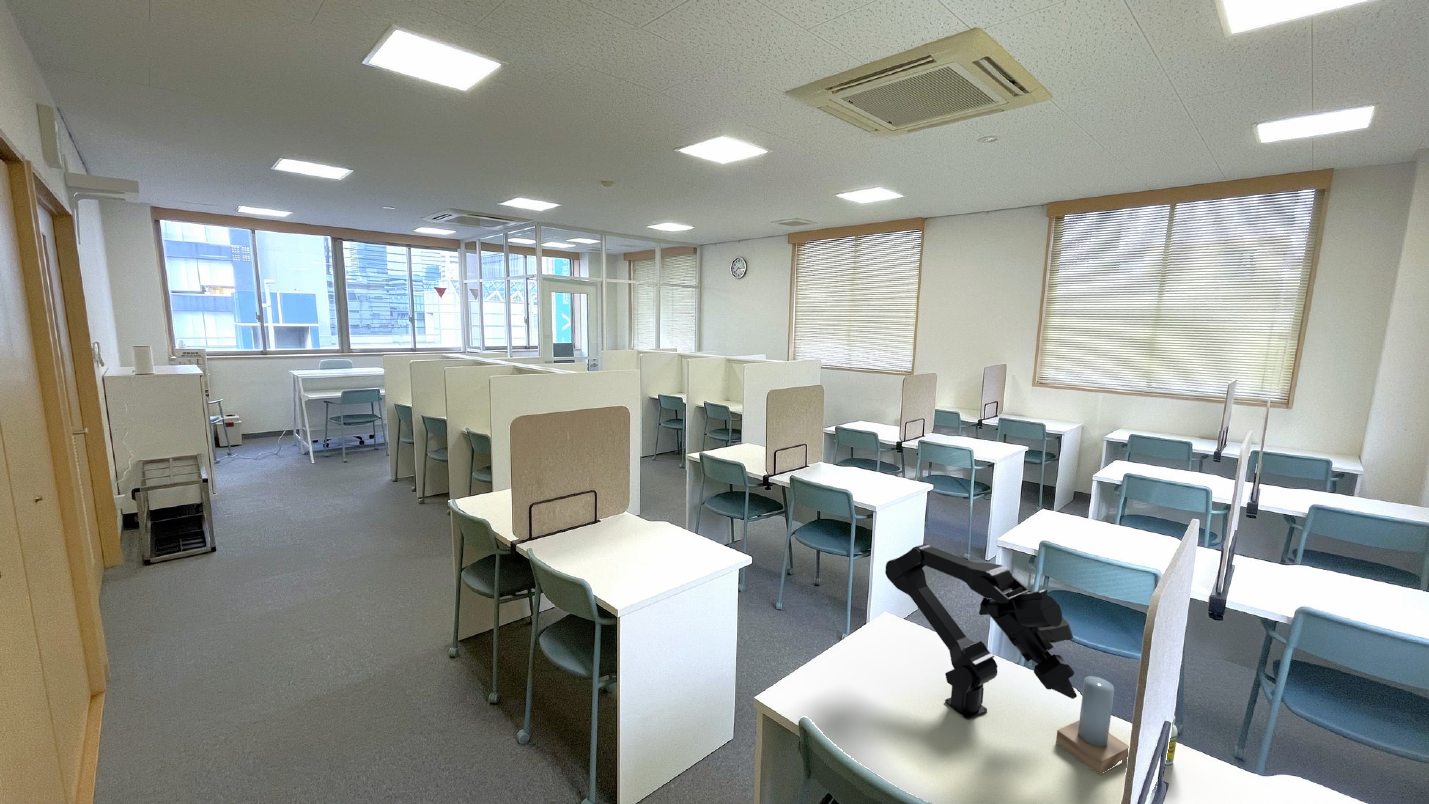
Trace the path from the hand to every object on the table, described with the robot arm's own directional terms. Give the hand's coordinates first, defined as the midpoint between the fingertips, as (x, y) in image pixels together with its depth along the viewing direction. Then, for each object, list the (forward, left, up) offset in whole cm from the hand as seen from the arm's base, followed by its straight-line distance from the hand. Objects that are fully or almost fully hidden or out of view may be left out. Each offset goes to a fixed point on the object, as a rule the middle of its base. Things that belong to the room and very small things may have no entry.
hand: (1063, 683), depth 117 cm
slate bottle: (+3, -5, -9) cm, 11 cm away
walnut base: (+3, -5, -12) cm, 14 cm away
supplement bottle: (+14, -11, -13) cm, 22 cm away
